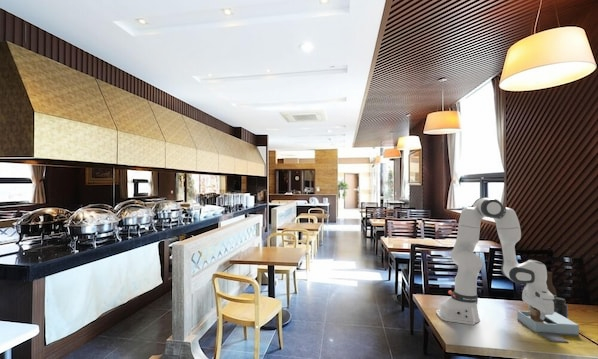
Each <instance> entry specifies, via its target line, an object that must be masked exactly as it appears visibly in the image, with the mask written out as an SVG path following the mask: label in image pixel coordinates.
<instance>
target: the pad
mask: <svg viewBox="0 0 598 359" xmlns="http://www.w3.org/2000/svg"><path fill="white" fill-rule="evenodd" d="M538 334H539V335H540V336H542V337H543V338H545V339H546V340H547V341H548V342H553V343H563V344H564V343H565V344H568V343H569V340H567V339H564V338H563V337H562V336H561V335H557V334H554V333H538Z"/></svg>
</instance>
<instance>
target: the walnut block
mask: <svg viewBox="0 0 598 359" xmlns="http://www.w3.org/2000/svg"><path fill="white" fill-rule="evenodd" d="M530 310H531V319H532V320H534V321H535V322H544V321H543V320H541V319H540V318H539V315H541V313H540V311H539V310H538V309H536V308H534V307H530V309H529V311H530Z"/></svg>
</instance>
